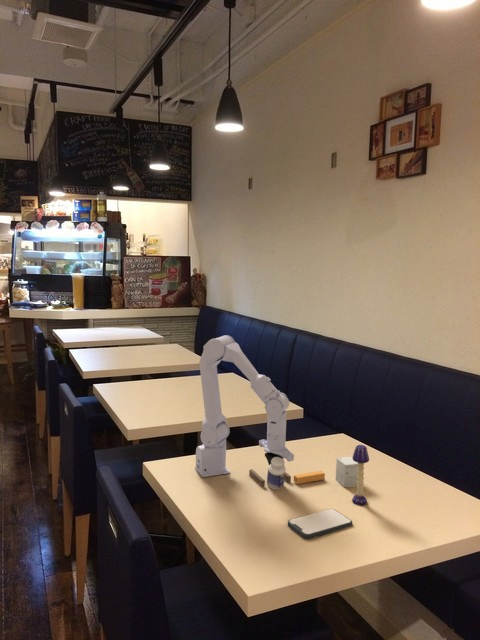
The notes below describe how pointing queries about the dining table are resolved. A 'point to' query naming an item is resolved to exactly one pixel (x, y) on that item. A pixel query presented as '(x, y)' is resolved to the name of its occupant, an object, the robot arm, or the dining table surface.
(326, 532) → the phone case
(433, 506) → the dining table surface
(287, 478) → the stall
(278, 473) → the pill bottle
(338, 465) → the product box
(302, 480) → the orange rectangular block
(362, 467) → the toy lamp
